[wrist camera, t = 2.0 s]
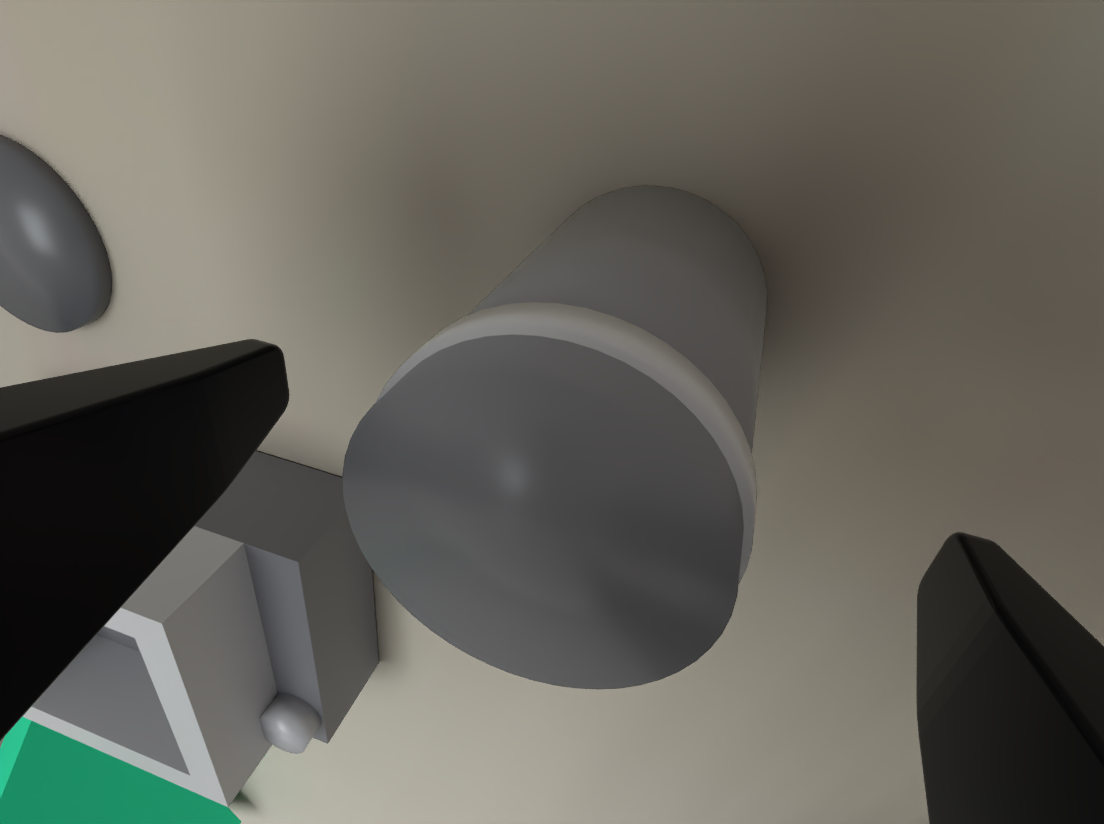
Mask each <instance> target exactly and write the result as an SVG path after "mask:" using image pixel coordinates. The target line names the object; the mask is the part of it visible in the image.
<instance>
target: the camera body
mask: <svg viewBox="0 0 1104 824" xmlns="http://www.w3.org/2000/svg"><path fill="white" fill-rule="evenodd" d="M378 663H379V659H378V645H377V631H376V617H375V603H374V589H373V575H372V568H371V566H370V565H369V563H368V561H367V560H366V558H365V556H364V555H363V553H362V551H361V549H360V547H359V545H358V543H357V541H356V538H355V536H354V534H353V532H352V529H351V526H350V522H349V519H348V516H347V513H346V507H345V502H344V496H343V478H341V477H338V476H335V475H331V474H328V473H325V472H322V471H319V470H315V469H312V468H309V467H306V466H303V465H299V464H296V463H293V462H290V461H286V460H283V459H280V458H277V457H274V456H270V455H267V454H264V453H261V452H258V451H255V452H254V454H253V455H252V457H251V458H250V459H249V461H248V462H247V463H246V465H245V466H244V468H243V469H242V470H241V472H240V473H239V474H238V476H237V477H236V478H235V480H234V481H233V482H232V483H231V485H230V486H229V487H228V489H227V490H226V491H225V492H224V493H223V494H222V496H221V497H220V498H219V499H218V500H217V501H216V503H215V504H214V505H213V506H212V507H211V508H210V509H209V510H208V511H207V513H206V514H205V515H204V516H203V517H202V518H201V519H200V520H199V521H198V523H197V524H196V525H195V526H194V527H193V528H192V529H191V530H190V531H189V533H188V534H187V535H186V536H185V537H184V538H183V539H182V540H181V541H180V542H179V544H178V545H177V546H176V547H175V548H174V549H173V550H172V551H171V552H170V554H169V555H168V556H167V557H166V558H165V559H164V560H163V561H162V562H161V564H160V565H159V566H158V567H157V568H156V569H155V570H154V571H153V572H152V574H151V575H150V576H149V577H148V578H147V579H146V580H145V581H144V582H143V584H142V585H141V586H140V587H139V588H138V589H137V590H136V591H135V592H134V593H133V595H132V596H131V597H130V598H129V599H128V600H127V601H126V602H125V603H124V605H123V606H122V607H121V608H120V609H119V610H118V611H117V612H116V613H115V615H114V616H113V617H112V618H111V619H110V620H109V621H108V622H107V623H106V625H105V626H104V627H103V628H102V629H101V630H100V631H99V632H98V633H97V634H96V636H95V637H94V638H93V639H92V640H91V641H90V642H89V643H88V644H87V646H86V647H85V648H84V649H83V650H82V651H81V652H80V653H79V654H78V656H77V657H76V658H75V659H74V660H73V661H72V662H71V663H70V664H69V666H68V667H67V668H66V669H65V670H64V671H63V672H62V673H61V674H60V676H59V677H58V678H57V679H56V680H55V681H54V682H53V683H52V684H51V685H50V687H49V688H48V689H47V690H46V691H45V692H44V693H43V694H42V695H41V697H40V698H39V699H38V700H37V701H36V702H35V703H34V704H33V705H32V707H31V708H30V709H29V710H28V711H27V712H26V713H25V714H24V715H23V717H25V718H27V719H29V720H31V721H34V722H36V723H38V724H40V725H43V726H45V727H47V728H49V729H52V730H54V731H56V732H59V733H61V734H63V735H65V736H68V737H70V738H72V739H74V740H77V741H79V742H81V743H84V744H86V745H88V746H90V747H93V748H95V749H97V750H99V751H102V752H104V753H106V754H108V755H111V756H113V757H115V758H118V759H120V760H122V761H124V762H127V763H129V764H131V765H133V766H136V767H138V768H140V769H143V770H145V771H147V772H149V773H152V774H154V775H156V776H158V777H161V778H163V779H165V780H167V781H170V782H172V783H174V784H177V785H179V786H181V787H183V788H186V789H188V790H190V791H192V792H195V793H197V794H199V795H202V796H204V797H206V798H208V799H211V800H213V801H215V802H217V803H220V804H222V805H224V806H227V807H229V805H230V804H231V802H232V801H233V800H234V798H235V797H236V795H237V794H238V793H239V791H240V790H241V788H242V787H243V785H244V784H245V783H246V781H247V780H248V778H249V777H250V775H251V774H252V773H253V771H254V770H255V768H256V767H257V766H258V764H259V763H260V761H261V760H262V758H263V757H264V756H265V754H266V753H267V751H268V750H269V748H270V747H271V746H272V744H273V745H274V746H276V747H278V748H279V749H281V750H284V751H286V752H290V753H295V754H298V753H302V752H303V751H304V750H305V748H306V747H307V745H308V744H309V742H310V741H311V739H312V738H315V739H317V740H320V741H322V742H325V743H327V744H328V743H329V741H330V739H331V738H332V736H333V735H334V733H335V731H336V730H337V728H338V727H339V725H340V724H341V722H342V720H343V719H344V717H345V716H346V714H347V712H348V711H349V709H350V708H351V706H352V704H353V703H354V701H355V700H356V698H357V697H358V695H359V693H360V692H361V690H362V689H363V687H364V685H365V684H366V682H367V681H368V679H369V678H370V676H371V674H372V673H373V671H374V670H375V668H376V666H377V665H378Z"/></svg>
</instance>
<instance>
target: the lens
mask: <svg viewBox="0 0 1104 824" xmlns="http://www.w3.org/2000/svg"><path fill="white" fill-rule="evenodd" d="M766 309H767V286H766V281H765V276H764V271H763V268H762V265H761V262H760V260H759V257H758V255H757V253H756V251H755V249H754V247H753V245H752V243H751V241H750V240H749V239H748V237H747V236H746V235H745V233H744V232H743V230H742V229H741V228H740V227H739V226H738V225H737V224H736V223H735V222H734V221H733V220H732V219H731V218H730V217H729V216H728V215H727V214H725V213H724V212H723V211H722V210H720V209H719V208H718V207H716V206H715V205H713V204H711V203H710V202H708V201H706V200H704V199H703V198H700V197H698V196H696V195H693V194H691V193H688V192H685V191H681V190H678V189H674V188H669V187H661V186H635V187H629V188H622V189H619V190H616V191H612V192H609V193H606V194H604V195H602V196H600V197H597V198H595V199H593V200H592V201H590V202H588V203H587V204H585V205H584V206H582V207H581V208H580V209H578V210H577V211H576V212H575V213H574V214H572V215H571V216H570V217H569V218H568V219H567V220H566V221H565V222H564V223H563V224H562V225H561V226H560V227H559V228H558V229H557V230H555V231H554V232H553V233H552V234H551V235H550V236H549V237H548V238H547V239H546V240H545V241H544V242H543V243H542V244H541V245H540V246H539V247H538V248H537V249H536V250H535V251H534V252H533V253H532V254H530V255H529V256H528V257H527V258H526V259H525V260H524V261H523V262H522V263H521V264H520V265H519V266H518V267H517V268H516V269H515V270H514V271H513V272H512V273H511V274H510V275H509V276H508V277H507V278H505V279H504V280H503V281H502V282H501V283H500V284H499V285H498V286H497V287H496V288H495V289H494V290H493V291H492V292H491V293H490V294H489V295H488V296H487V297H486V298H485V299H484V300H483V301H482V302H480V303H479V304H478V305H477V306H476V307H475V308H474V309H473V310H472V311H471V312H470V313H469V314H468V315H467V316H465V317H463V318H460V319H458V320H457V321H455V322H453V323H452V324H450V325H448V326H447V327H445V328H443V329H442V330H440V331H439V332H438V333H437V334H436V335H434V336H433V337H432V338H431V339H430V340H429V341H427V342H426V343H425V344H424V345H423V346H422V347H421V348H420V349H419V350H418V351H416V352H415V353H414V354H413V355H412V356H411V357H410V358H409V359H408V360H407V361H406V362H405V363H404V364H402V365H401V366H400V367H399V369H398V370H397V371H396V372H395V373H394V375H393V376H392V377H391V378H390V379H389V381H388V382H387V383H386V385H385V387H384V389H383V391H382V392H381V394H380V396H379V398H378V400H377V402H376V403H375V404H374V405H373V406H372V407H371V409H370V410H369V411H368V412H367V413H366V415H365V416H364V417H363V418H362V419H361V421H360V422H359V424H358V426H357V428H356V430H355V431H354V433H353V435H352V437H351V439H350V442H349V445H348V449H347V452H346V455H345V461H344V468H343V496H344V502H345V507H346V513H347V516H348V519H349V522H350V526H351V529H352V532H353V534H354V536H355V538H356V541H357V543H358V545H359V547H360V549H361V551H362V553H363V555H364V556H365V558H366V560H367V561H368V563H369V565H370V566H371V568H372V569H373V571H374V572H375V574H376V575H377V576H378V578H379V579H380V580H381V582H382V583H383V585H384V586H385V587H386V588H387V589H388V590H389V591H390V593H391V594H392V595H393V596H394V597H395V598H396V599H397V601H398V602H399V603H401V604H402V605H403V606H404V607H405V608H406V609H407V610H408V611H409V612H410V613H411V614H412V615H413V616H414V617H415V618H417V619H418V620H419V621H420V622H421V623H423V624H424V625H425V626H426V627H428V628H429V629H430V630H431V631H433V632H434V633H436V634H437V635H438V636H440V637H441V638H443V639H444V640H446V641H447V642H448V643H450V644H452V645H453V646H455V647H457V648H458V649H460V650H462V651H464V652H465V653H467V654H469V655H471V656H473V657H475V658H477V659H479V660H481V661H483V662H485V663H487V664H489V665H491V666H494V667H496V668H499V669H501V670H504V671H506V672H509V673H511V674H514V675H518V676H521V677H524V678H527V679H530V680H534V681H538V682H543V683H547V684H551V685H557V686H564V687H571V688H581V689H616V688H625V687H631V686H638V685H643V684H646V683H650V682H653V681H657V680H660V679H663V678H665V677H667V676H670V675H672V674H674V673H677V672H679V671H681V670H682V669H684V668H685V667H687V666H689V665H690V664H692V663H694V662H695V661H696V660H698V659H699V658H700V657H701V656H702V655H703V654H704V653H706V652H707V651H708V650H709V649H710V648H711V647H712V646H713V644H714V643H715V642H716V641H717V639H718V638H719V637H720V636H721V634H722V633H723V631H724V629H725V627H726V625H727V623H728V621H729V619H730V618H731V615H732V612H733V609H734V605H735V602H736V598H737V592H738V584H739V582H740V580H741V578H742V576H743V574H744V572H745V570H746V568H747V564H748V561H749V557H750V554H751V551H752V543H753V533H754V522H755V510H756V498H757V486H756V472H755V467H754V463H753V458H752V446H753V436H754V427H755V417H756V407H757V397H758V388H759V378H760V368H761V358H762V349H763V339H764V329H765V320H766Z"/></svg>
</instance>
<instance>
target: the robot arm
mask: <svg viewBox="0 0 1104 824" xmlns="http://www.w3.org/2000/svg"><path fill="white" fill-rule="evenodd" d="M288 401H289V388H288V381H287V374H286V367H285V360H284V355H283V352H282V350H281V349H280V348H279V347H278V346H277V345H274V344H270V343H267V342H263V341H259V340H256V339H248V340H243V341H238V342H233V343H227V344H222V345H217V346H212V347H207V348H202V349H197V350H191V351H186V352H181V353H176V354H171V355H166V356H161V357H156V358H150V359H145V360H140V361H135V362H130V363H125V364H120V365H114V366H109V367H104V368H99V369H94V370H89V371H84V372H79V373H73V374H68V375H63V376H58V377H53V378H48V379H43V380H38V381H32V382H27V383H22V384H17V385H12V386H7V387H2V388H0V741H1V740H2V739H3V738H4V736H5V735H6V734H7V733H8V732H9V731H10V730H11V729H12V728H13V727H14V725H15V724H16V723H17V722H18V721H19V720H20V719H21V718H22V717H23V715H24V714H25V713H26V712H27V711H28V710H29V709H30V708H31V707H32V705H33V704H34V703H35V702H36V701H37V700H38V699H39V698H40V697H41V695H42V694H43V693H44V692H45V691H46V690H47V689H48V688H49V687H50V685H51V684H52V683H53V682H54V681H55V680H56V679H57V678H58V677H59V676H60V674H61V673H62V672H63V671H64V670H65V669H66V668H67V667H68V666H69V664H70V663H71V662H72V661H73V660H74V659H75V658H76V657H77V656H78V654H79V653H80V652H81V651H82V650H83V649H84V648H85V647H86V646H87V644H88V643H89V642H90V641H91V640H92V639H93V638H94V637H95V636H96V634H97V633H98V632H99V631H100V630H101V629H102V628H103V627H104V626H105V625H106V623H107V622H108V621H109V620H110V619H111V618H112V617H113V616H114V615H115V613H116V612H117V611H118V610H119V609H120V608H121V607H122V606H123V605H124V603H125V602H126V601H127V600H128V599H129V598H130V597H131V596H132V595H133V593H134V592H135V591H136V590H137V589H138V588H139V587H140V586H141V585H142V584H143V582H144V581H145V580H146V579H147V578H148V577H149V576H150V575H151V574H152V572H153V571H154V570H155V569H156V568H157V567H158V566H159V565H160V564H161V562H162V561H163V560H164V559H165V558H166V557H167V556H168V555H169V554H170V552H171V551H172V550H173V549H174V548H175V547H176V546H177V545H178V544H179V542H180V541H181V540H182V539H183V538H184V537H185V536H186V535H187V534H188V533H189V531H190V530H191V529H192V528H193V527H194V526H195V525H196V524H197V523H198V521H199V520H200V519H201V518H202V517H203V516H204V515H205V514H206V513H207V511H208V510H209V509H210V508H211V507H212V506H213V505H214V504H215V503H216V501H217V500H218V499H219V498H220V497H221V496H222V494H223V493H224V492H225V491H226V490H227V489H228V487H229V486H230V485H231V483H232V482H233V481H234V480H235V478H236V477H237V476H238V474H239V473H240V472H241V470H242V469H243V468H244V466H245V465H246V463H247V462H248V461H249V459H250V458H251V457H252V455H253V454H254V452H255V451H256V450H257V448H258V447H259V446H260V444H261V443H262V442H263V440H264V439H265V437H266V436H267V435H268V433H269V432H270V431H271V429H272V428H273V426H274V425H275V424H276V422H277V421H278V420H279V418H280V417H281V416H282V414H283V413H284V411H285V409H286V407H287V405H288ZM917 720H918V731H919V741H920V749H921V757H922V766H923V774H924V782H925V791H926V799H927V807H928V815H929V824H1104V646H1103V645H1102V644H1101V643H1100V642H1099V641H1098V640H1097V639H1095V638H1094V637H1093V636H1092V635H1091V634H1090V633H1089V632H1088V631H1087V630H1086V629H1085V628H1084V627H1083V626H1082V625H1081V624H1080V623H1079V622H1078V621H1077V620H1076V619H1075V618H1074V617H1073V616H1072V615H1071V614H1069V613H1068V612H1067V611H1066V610H1065V609H1064V608H1063V607H1062V606H1061V605H1060V604H1059V603H1058V602H1057V601H1056V600H1055V599H1054V598H1053V597H1052V596H1051V595H1050V594H1049V593H1048V592H1047V591H1046V590H1044V589H1043V588H1042V587H1041V586H1040V585H1039V584H1038V583H1037V582H1036V581H1035V580H1034V579H1033V578H1032V577H1031V576H1030V575H1029V574H1028V573H1027V572H1026V571H1025V570H1024V569H1023V568H1022V567H1021V566H1019V565H1018V564H1017V563H1016V562H1015V561H1014V560H1013V559H1012V558H1011V557H1010V556H1009V555H1008V554H1007V553H1006V552H1005V551H1004V550H1003V549H1002V548H1001V547H1000V546H999V545H997V544H996V543H995V542H993V541H991V540H988V539H984V538H980V537H977V536H973V535H969V534H965V533H962V532H958V533H954V534H952V535H951V536H949V537H948V538H947V540H946V541H945V543H944V544H943V546H942V547H941V549H940V551H939V552H938V554H937V555H936V557H935V559H934V560H933V562H932V563H931V565H930V567H929V568H928V570H927V571H926V573H925V575H924V576H923V578H922V580H921V582H920V585H919V589H918V594H917Z"/></svg>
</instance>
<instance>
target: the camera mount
mask: <svg viewBox="0 0 1104 824" xmlns="http://www.w3.org/2000/svg"><path fill="white" fill-rule="evenodd" d="M240 823H241V821H240V820H239V819H238V818H237V817H236V815H235V814H234V813H233V812H232V811H231V810H230V809H229V808H228V807H227V806H224V805H222V804H220V803H217V802H215V801H213V800H211V799H208V798H206V797H204V796H202V795H199V794H197V793H195V792H192V791H190V790H188V789H186V788H183V787H181V786H179V785H177V784H174V783H172V782H170V781H167V780H165V779H163V778H161V777H158V776H156V775H154V774H152V773H149V772H147V771H145V770H143V769H140V768H138V767H136V766H133V765H131V764H129V763H127V762H124V761H122V760H120V759H118V758H115V757H113V756H111V755H108V754H106V753H104V752H102V751H99V750H97V749H95V748H93V747H90V746H88V745H86V744H84V743H81V742H79V741H77V740H74V739H72V738H70V737H68V736H65V735H63V734H61V733H59V732H56V731H54V730H52V729H49V728H47V727H45V726H43V725H40V724H38V723H36V722H34V721H31V720H29V719H27V718H25V717H22V718H21V719H20V720H19V721H18V722H17V723H16V724H15V725H14V727H13V728H12V729H11V730H10V731H9V732H8V733H7V734H6V735H5V738H4V740H3V743H2V745H1V748H0V824H240Z"/></svg>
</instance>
